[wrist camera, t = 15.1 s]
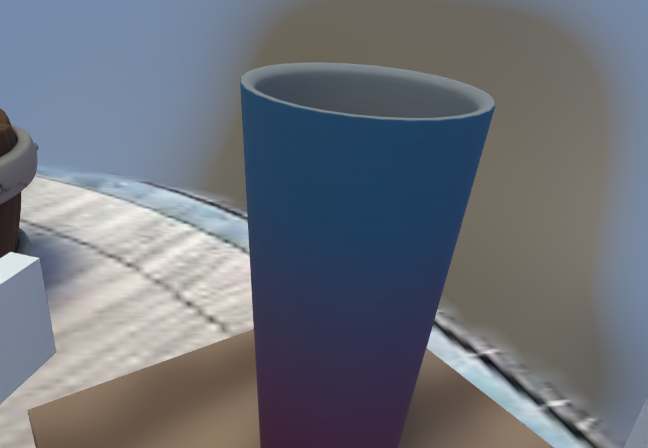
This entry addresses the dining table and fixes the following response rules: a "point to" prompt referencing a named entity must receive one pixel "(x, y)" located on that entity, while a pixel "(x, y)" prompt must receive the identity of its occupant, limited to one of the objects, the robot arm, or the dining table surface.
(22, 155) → the flowerpot
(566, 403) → the dining table surface
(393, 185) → the cup
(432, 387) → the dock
